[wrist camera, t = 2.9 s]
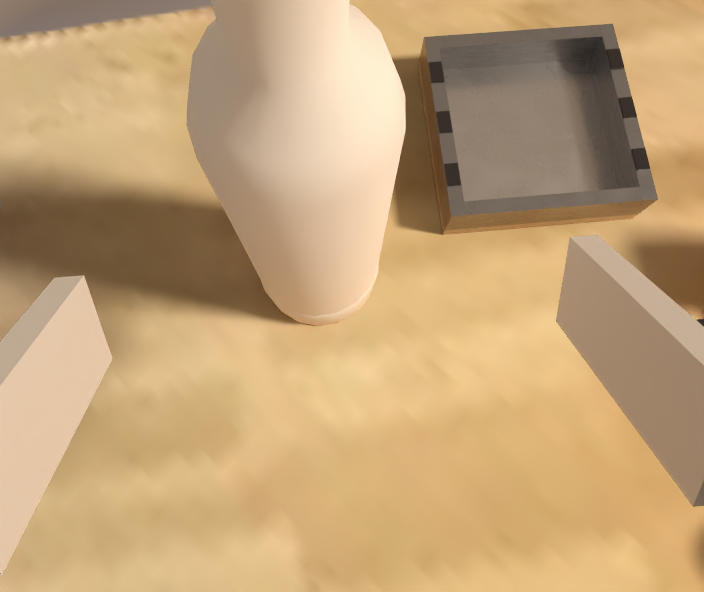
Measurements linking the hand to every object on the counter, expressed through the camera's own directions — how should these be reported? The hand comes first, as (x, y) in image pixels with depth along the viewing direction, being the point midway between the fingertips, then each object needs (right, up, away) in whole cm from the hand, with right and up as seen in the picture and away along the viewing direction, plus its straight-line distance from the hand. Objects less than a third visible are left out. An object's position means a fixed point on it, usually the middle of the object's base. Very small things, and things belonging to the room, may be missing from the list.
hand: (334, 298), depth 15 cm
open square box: (+13, +12, +26) cm, 31 cm away
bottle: (-2, +2, +23) cm, 23 cm away
